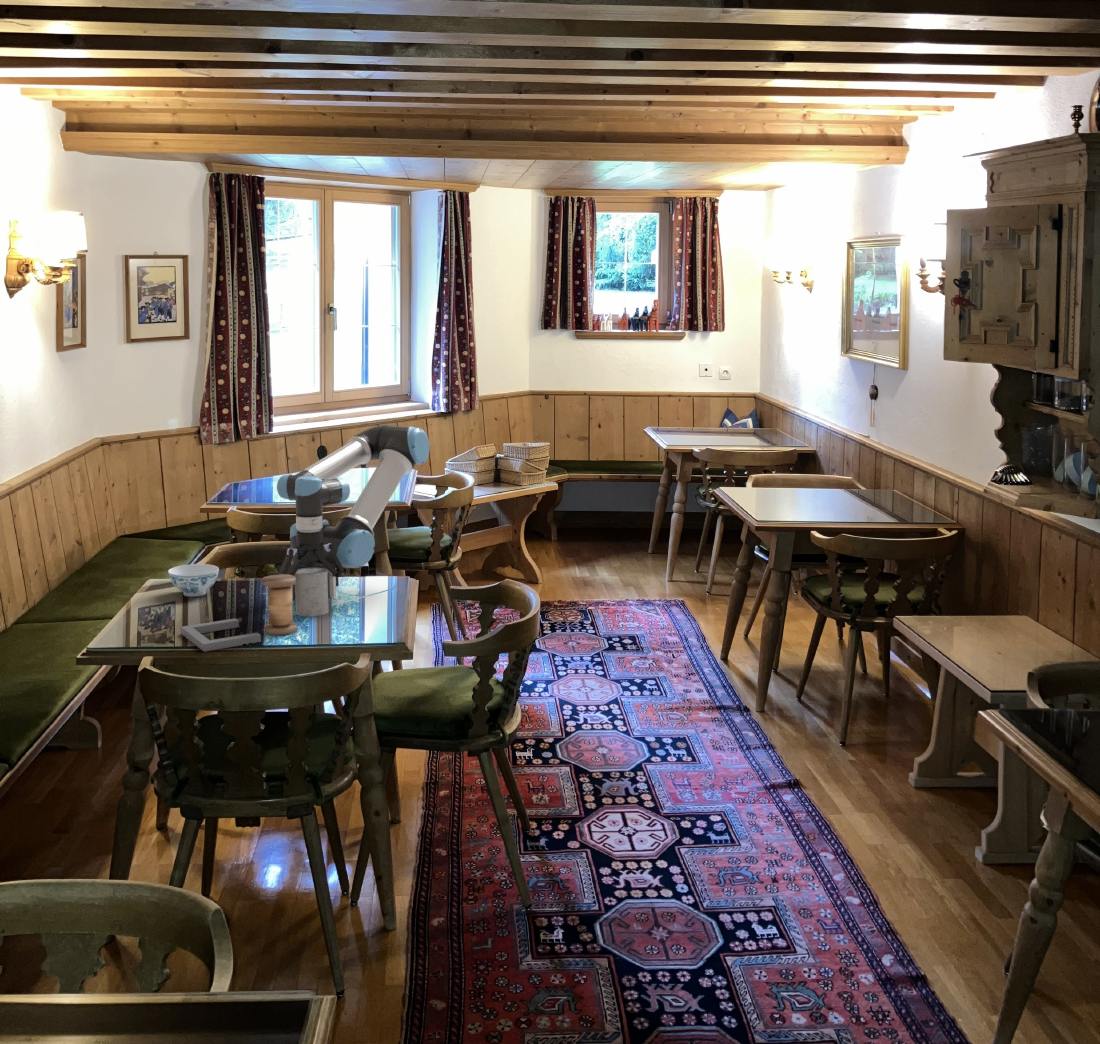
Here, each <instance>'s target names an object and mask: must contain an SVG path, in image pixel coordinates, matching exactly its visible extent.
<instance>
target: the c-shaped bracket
mask: <svg viewBox="0 0 1100 1044" xmlns="http://www.w3.org/2000/svg"><path fill="white" fill-rule="evenodd" d="M237 627H238V628H240V619H237V618H236V617H235V618H229V619H222V620H216V621H211V622H204V623H203V622H202V623H197V624H196V623H195V624H191V625H184V626H180V634H181V635H182V636H183V637H184V636H185V638H186V639H187V640H188V639H189V640H188V641H190V642H191V641H192V642H191V643H192V644H193V645H195V646H196V645H197V646H196V647H197V648H198V649H200V650H201V651H203V652H205V653H206V652H209V651H216V650H223V649H226V648H234V647H239V646H244V645H243V644H246V645H250V644H249V643H252V644H257V642H258V643H261V642H262V635H261V634H260V632H252V633H246V634H240V635H234V636H229V637H222V638H215V639H211V640H210V639H209V638H207V637H206V636H205V635H203V634H205V633H212V632H218V631H224V630H230V629H237Z"/></svg>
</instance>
